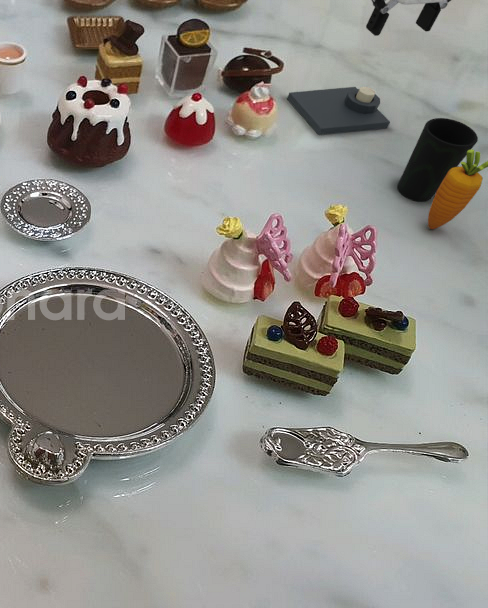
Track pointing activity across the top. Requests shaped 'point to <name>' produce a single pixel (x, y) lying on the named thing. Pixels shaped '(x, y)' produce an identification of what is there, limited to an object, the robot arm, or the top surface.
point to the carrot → (456, 190)
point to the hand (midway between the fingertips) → (397, 29)
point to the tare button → (365, 94)
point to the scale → (338, 110)
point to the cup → (435, 157)
